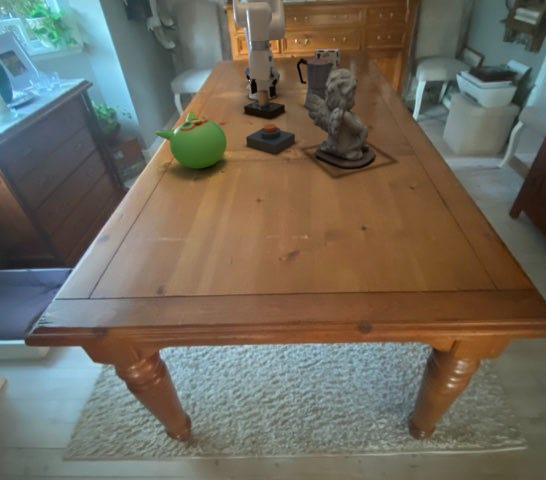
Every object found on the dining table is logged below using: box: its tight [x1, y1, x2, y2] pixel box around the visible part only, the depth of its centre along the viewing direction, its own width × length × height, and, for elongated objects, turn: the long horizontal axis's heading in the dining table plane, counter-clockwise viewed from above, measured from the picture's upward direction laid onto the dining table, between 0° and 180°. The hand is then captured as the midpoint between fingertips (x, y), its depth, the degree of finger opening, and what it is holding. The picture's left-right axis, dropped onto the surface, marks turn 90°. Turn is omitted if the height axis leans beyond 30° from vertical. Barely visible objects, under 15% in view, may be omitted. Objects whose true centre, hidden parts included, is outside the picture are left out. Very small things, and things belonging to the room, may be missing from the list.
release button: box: [263, 123, 277, 133], centre depth 119 cm, size 4×4×2 cm
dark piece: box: [245, 126, 296, 155], centre depth 121 cm, size 13×11×5 cm
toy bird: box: [155, 110, 228, 170], centre depth 108 cm, size 18×17×15 cm
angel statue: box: [306, 67, 377, 170], centre depth 105 cm, size 22×22×25 cm
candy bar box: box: [314, 48, 341, 91], centre depth 163 cm, size 11×5×16 cm, turn 68°
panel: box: [243, 100, 286, 120], centre depth 145 cm, size 14×10×3 cm
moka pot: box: [296, 53, 334, 108], centre depth 143 cm, size 10×15×20 cm, turn 78°
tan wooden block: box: [258, 90, 270, 107], centre depth 142 cm, size 4×4×6 cm
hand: (263, 94), depth 141 cm, fingers open, 9 cm apart
